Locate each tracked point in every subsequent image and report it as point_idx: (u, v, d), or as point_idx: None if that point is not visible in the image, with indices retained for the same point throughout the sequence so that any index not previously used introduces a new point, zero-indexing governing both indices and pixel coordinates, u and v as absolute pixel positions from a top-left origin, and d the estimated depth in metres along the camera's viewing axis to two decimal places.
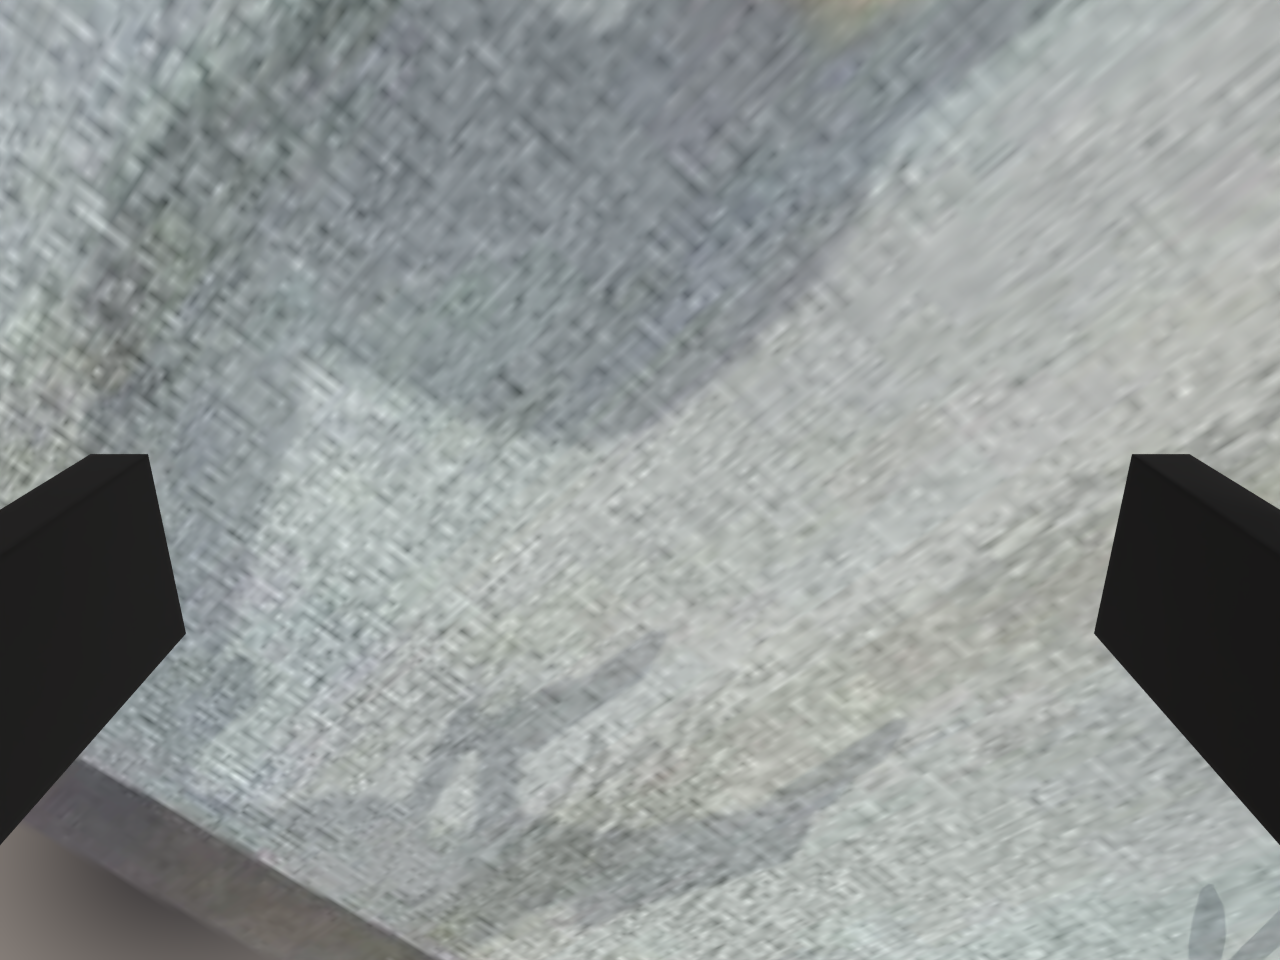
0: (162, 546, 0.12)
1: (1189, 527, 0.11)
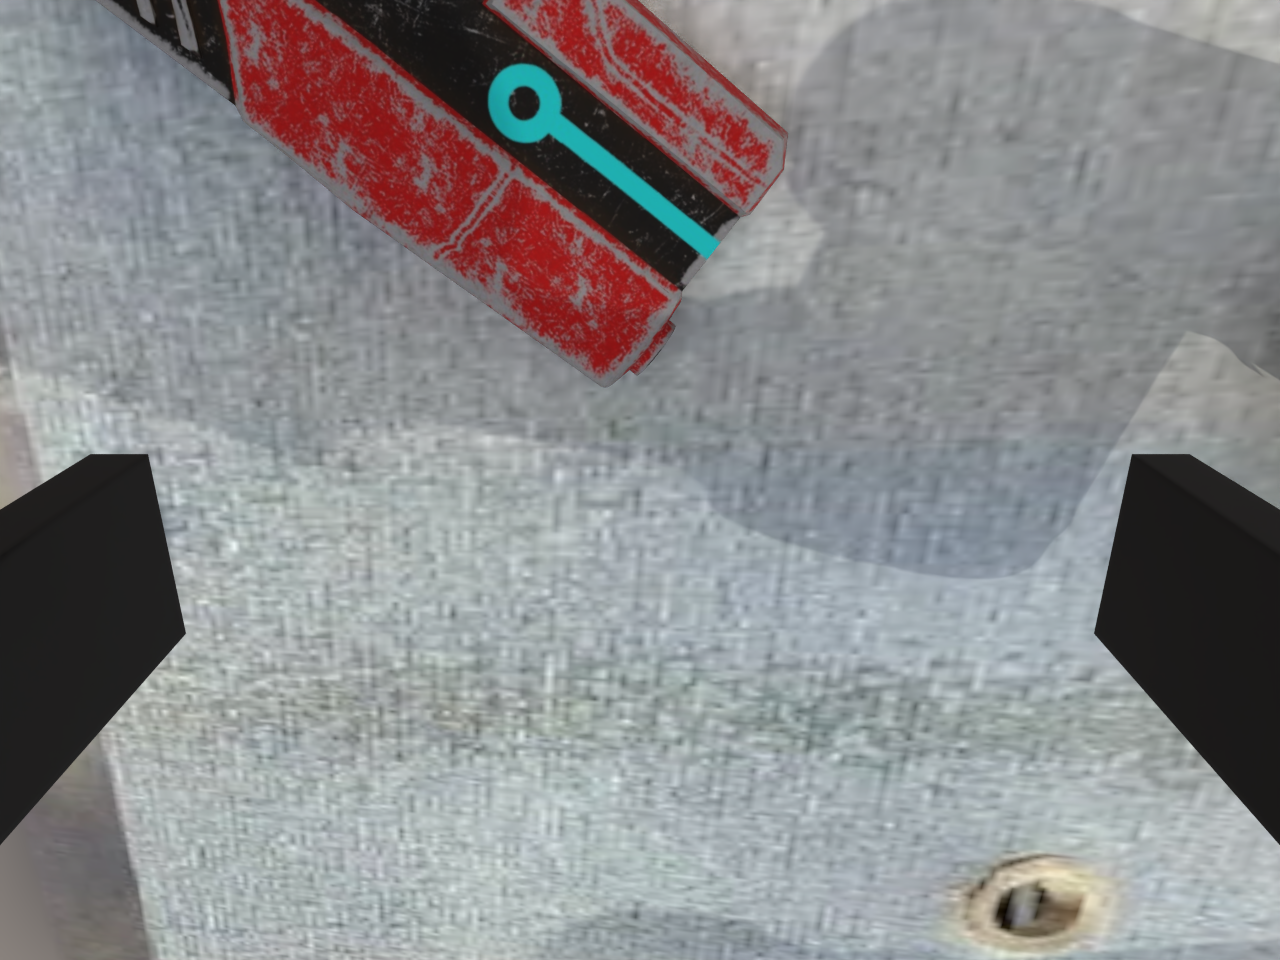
0: (162, 546, 0.12)
1: (1189, 527, 0.11)
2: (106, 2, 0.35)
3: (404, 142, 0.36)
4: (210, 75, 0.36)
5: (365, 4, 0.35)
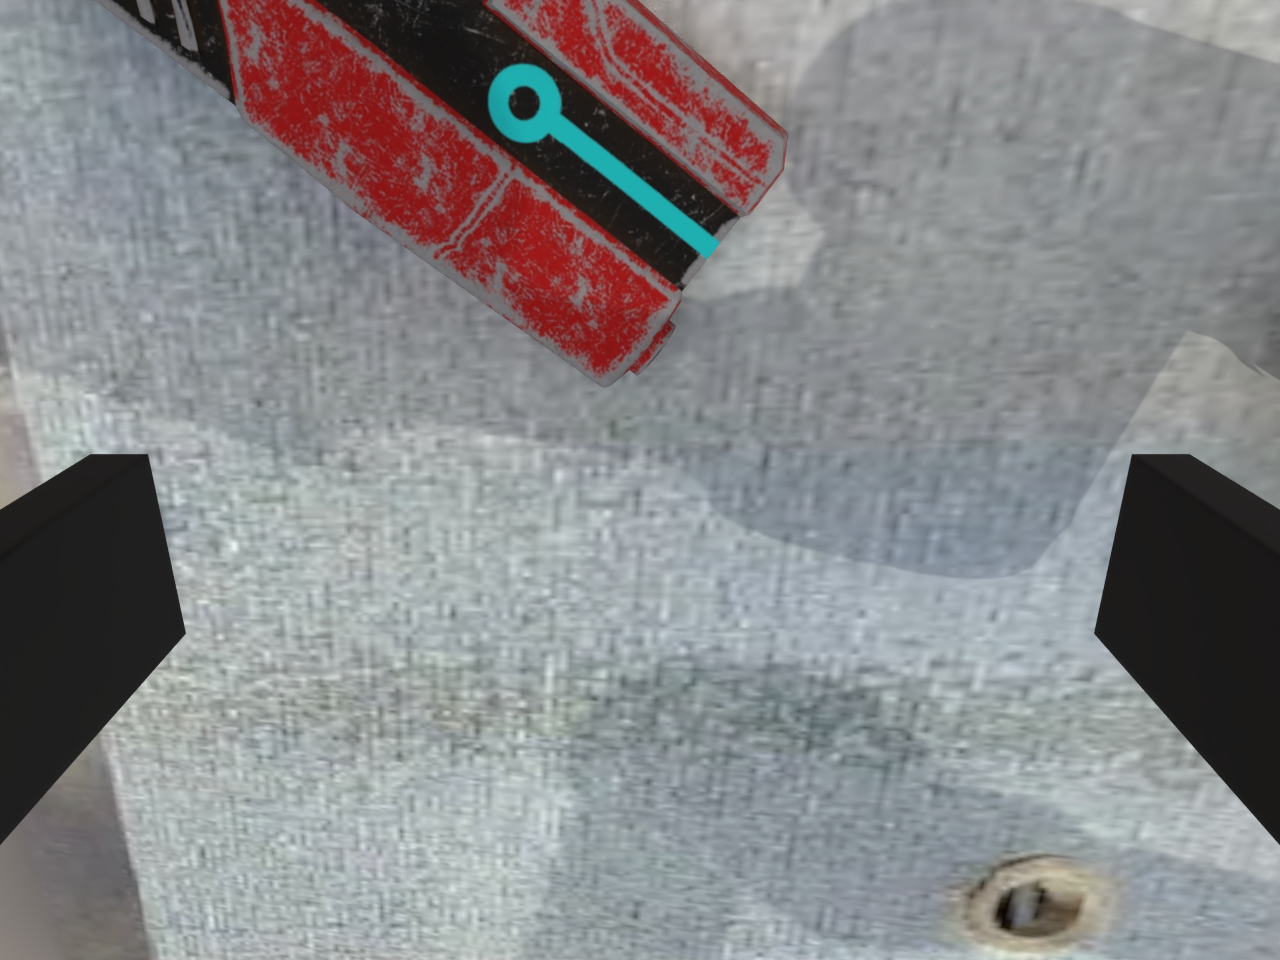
0: (162, 546, 0.12)
1: (1189, 527, 0.11)
2: (106, 2, 0.35)
3: (404, 142, 0.36)
4: (210, 75, 0.36)
5: (365, 4, 0.35)
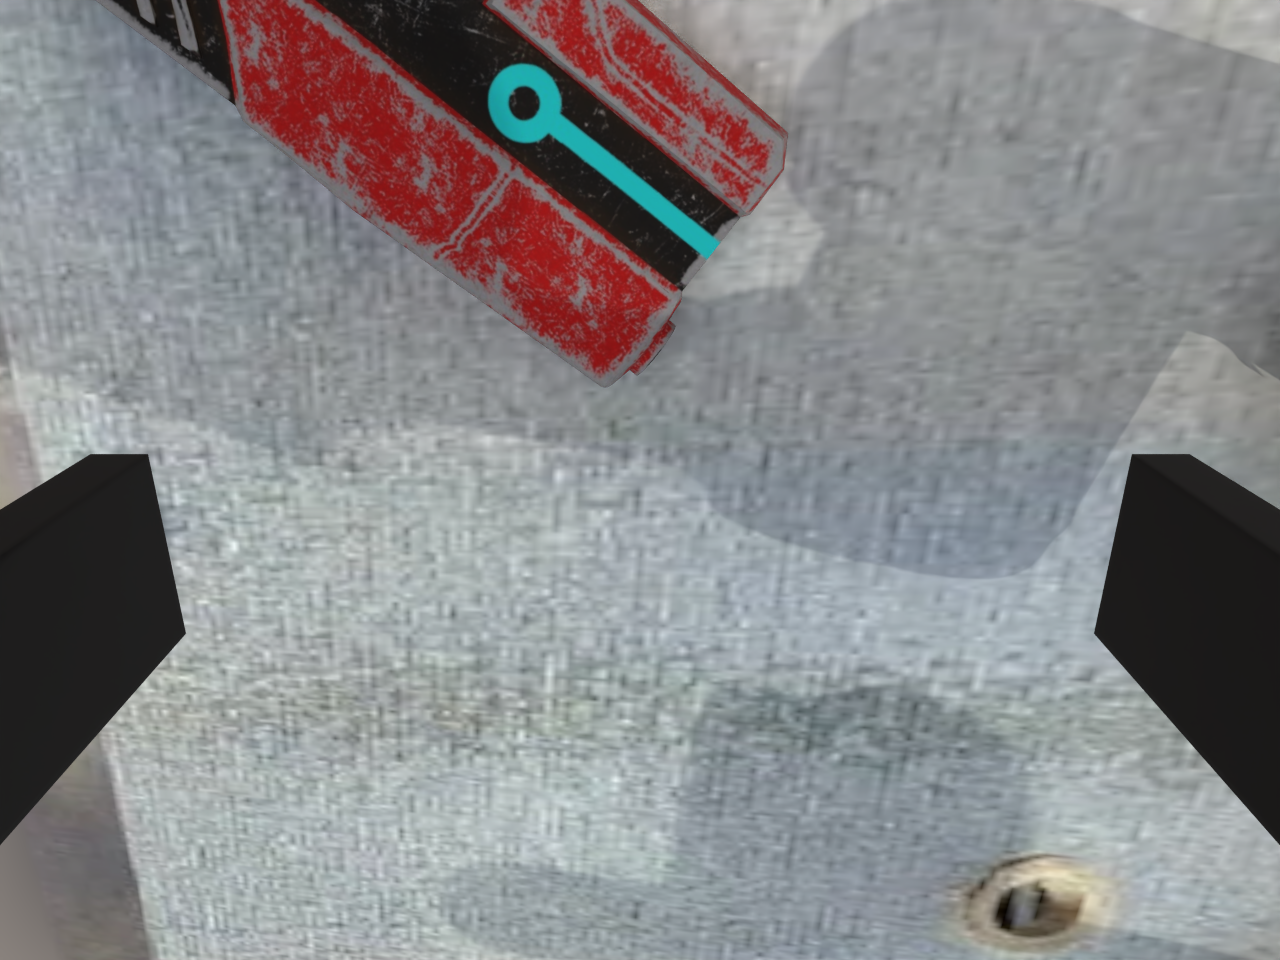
0: (162, 546, 0.12)
1: (1189, 527, 0.11)
2: (106, 2, 0.35)
3: (404, 142, 0.36)
4: (210, 75, 0.36)
5: (365, 4, 0.35)
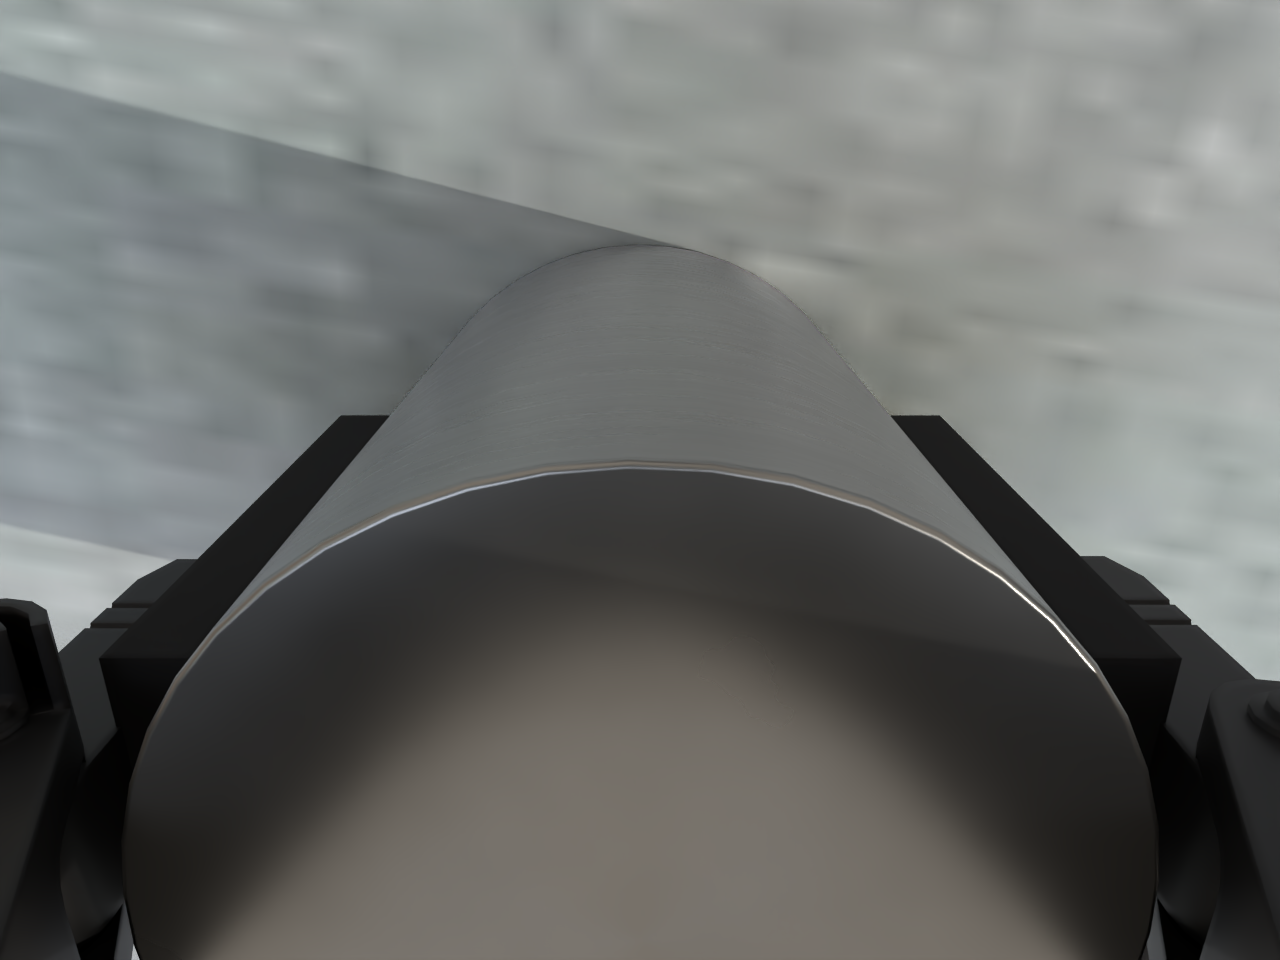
0: None
1: None
2: None
3: None
4: None
5: None
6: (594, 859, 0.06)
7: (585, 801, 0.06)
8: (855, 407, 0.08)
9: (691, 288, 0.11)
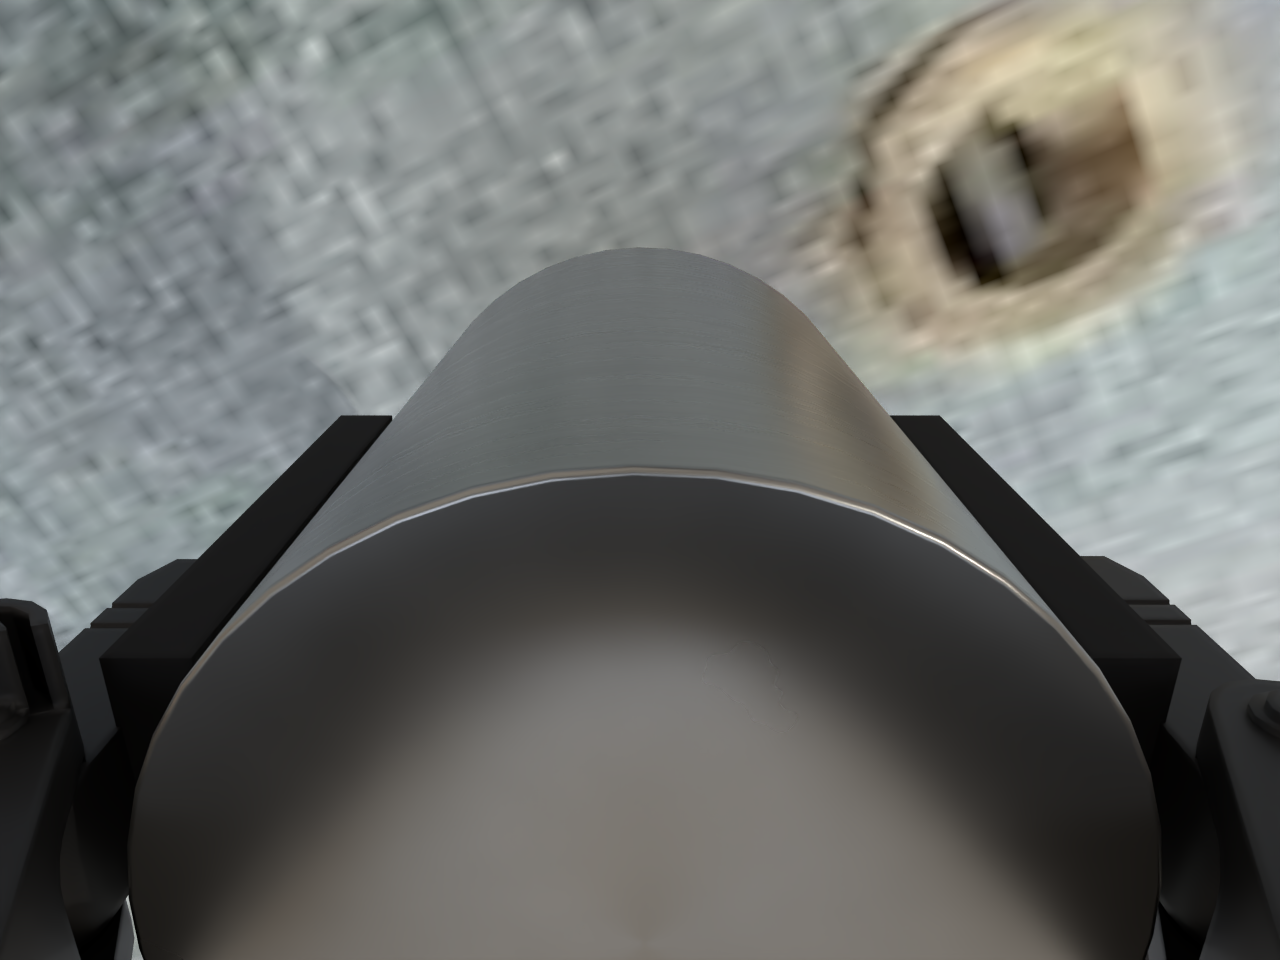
0: None
1: None
2: None
3: None
4: None
5: None
6: (599, 863, 0.06)
7: (589, 805, 0.06)
8: (858, 411, 0.08)
9: (693, 291, 0.11)
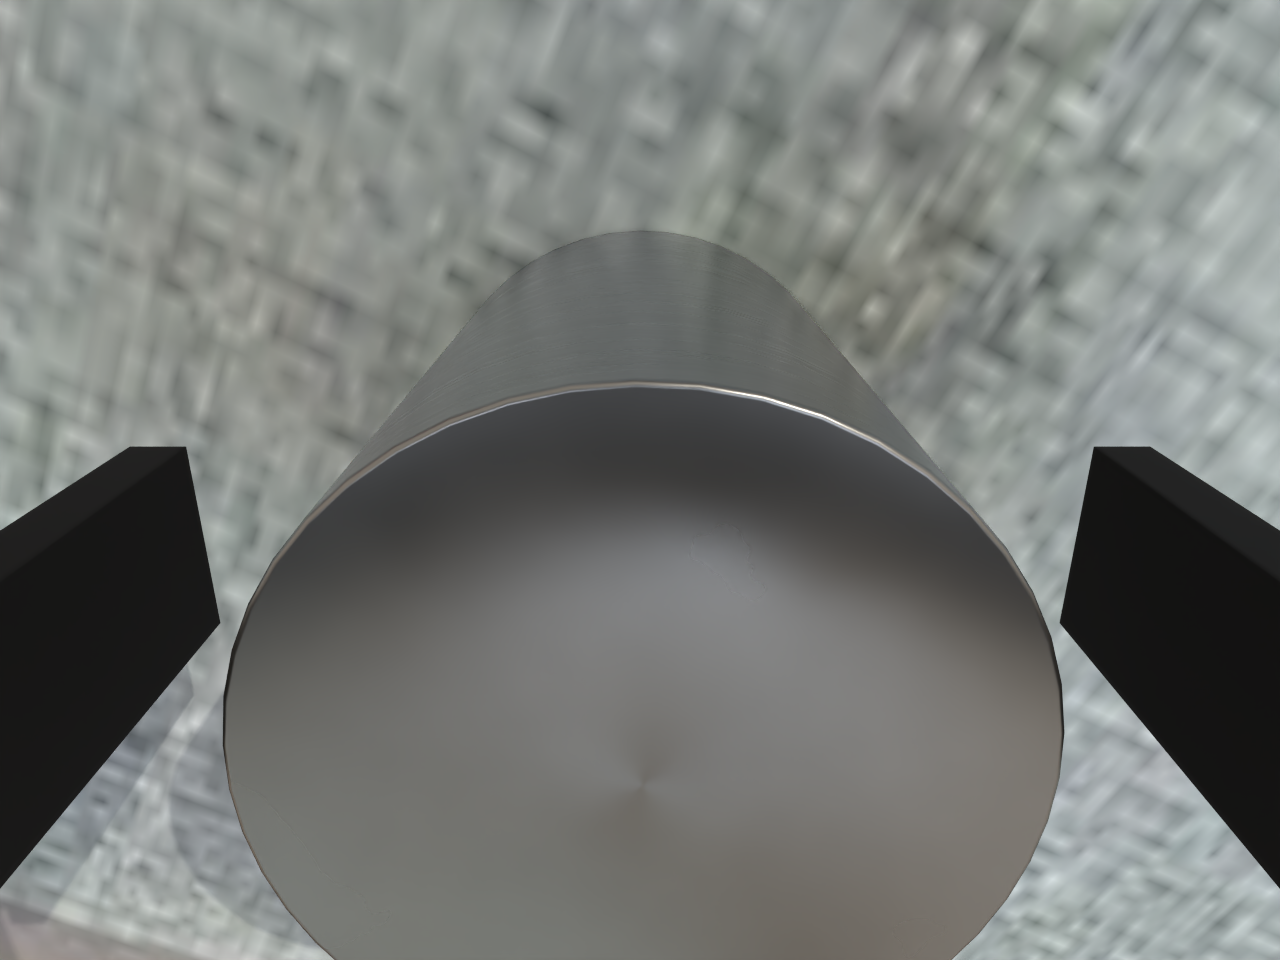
0: (199, 537, 0.13)
1: (1146, 518, 0.11)
2: None
3: None
4: None
5: None
6: (605, 713, 0.08)
7: (600, 663, 0.08)
8: (823, 358, 0.09)
9: (687, 265, 0.12)
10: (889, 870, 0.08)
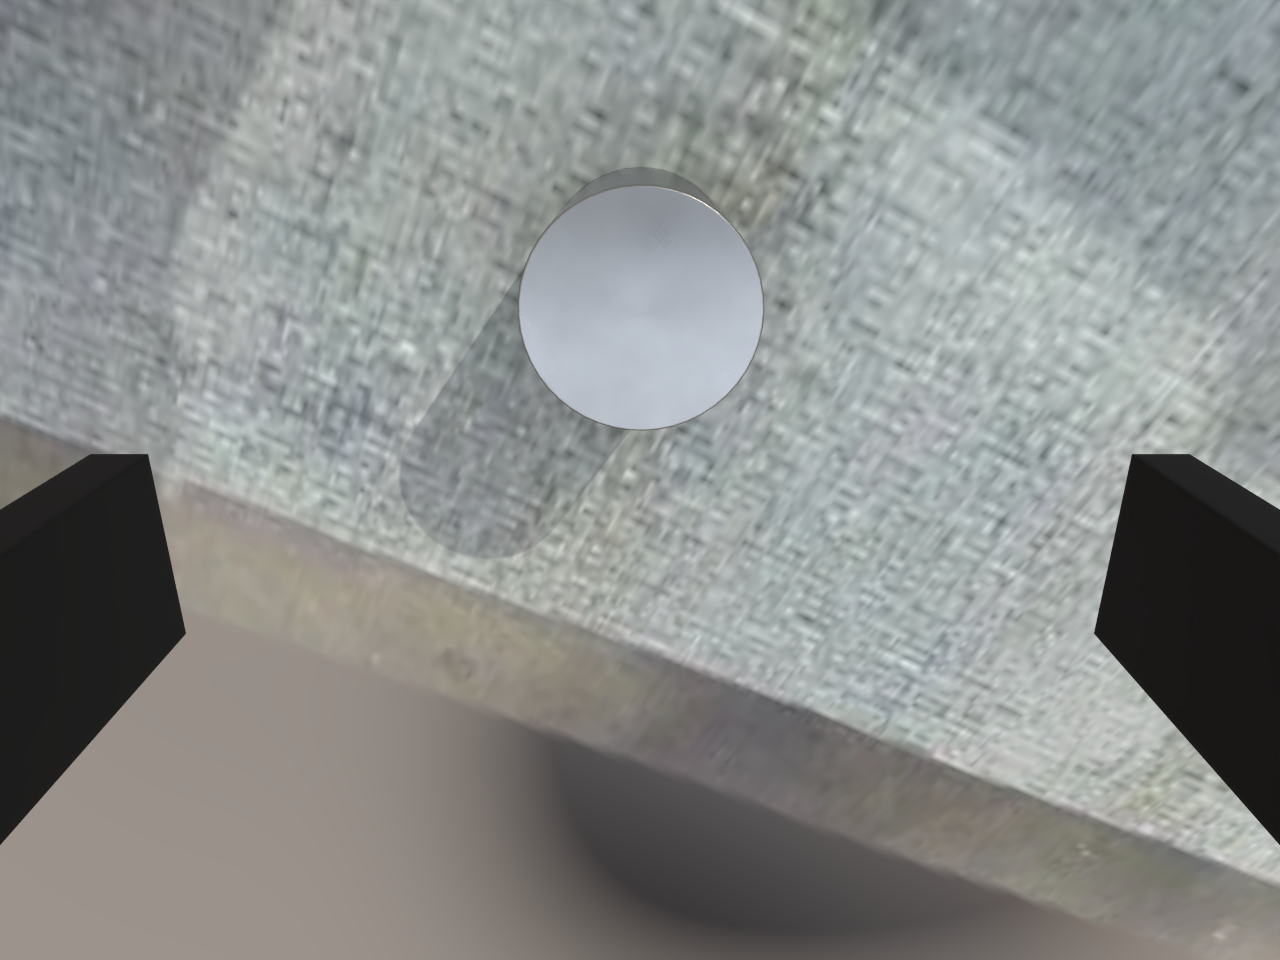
0: (162, 546, 0.12)
1: (1188, 527, 0.11)
2: None
3: None
4: None
5: None
6: (630, 288, 0.27)
7: (628, 271, 0.27)
8: (700, 195, 0.28)
9: (658, 174, 0.31)
10: (716, 346, 0.28)
